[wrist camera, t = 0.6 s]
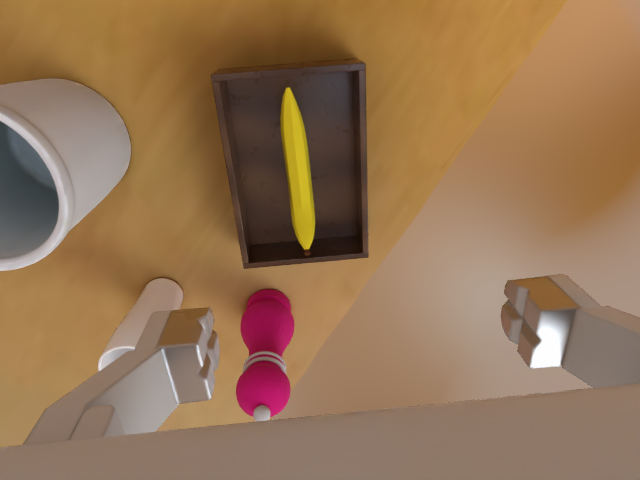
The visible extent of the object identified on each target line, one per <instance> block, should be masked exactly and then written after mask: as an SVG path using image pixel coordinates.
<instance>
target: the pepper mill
mask: <svg viewBox="0 0 640 480" xmlns="http://www.w3.org/2000/svg"><path fill="white" fill-rule="evenodd" d="M293 332H294V319H293V316H292V314H291V306H290V302H289V300H288V298H287V297H286V296H285V295H284V294H283V293H281V292H279V291H277V290H273V289H265V290H261V291H258V292H256V293H254V294H253V295H252V296H251V297H250V298H249V300H248V303H247V308H246V311H245V312H244V314H243V316H242V319H241V334H242V338H243V341H244V343H245V344H246V346H247V348H248V349H249V357H248V358H247V359H246V361H245V363H244V367H243V374H242V375H241V376H240V378H239V380H238V382H237V387H236V396H237V401H238V403H239V405H240V407H241V408H242V410H243V411H244V412H246V413H247V414H248V415H250V416H253V417H254V419H255V421H257V422H258V421H268V420H269V418H270V417H272V416H274V415H276V414H278V413H279V412H280V411H282V410H283V409H284V407H285V406H286V404H287V402H288V400H289V395H290V382H289V380H288V377H287V376H286V364H285V361H284V360H283V358H282V354H283V352H284V350H285V348H286V347H287V346H288V344H289V343H290V341H291V338H292V336H293Z"/></svg>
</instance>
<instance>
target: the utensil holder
mask: <svg viewBox="0 0 640 480" xmlns="http://www.w3.org/2000/svg"><path fill="white" fill-rule="evenodd" d="M130 157H131V143H130V138H129V134H128V131H127V128H126V126H125V124H124V122H123V120H122V118H121V117H120V115H119V114H118V112H117V111H116V110H115V108H114V107H113V106H112V105H111V104H110V103H109V102H108V101H107V100H106V99H105V98H104V97H103V96H101V95H100V94H98V93H97V92H95V91H94V90H92V89H90V88H88V87H86V86H84V85H82V84H80V83H77V82H74V81H71V80H66V79H57V78H47V79H38V80H31V81H22V82H15V83H9V84H3V85H0V271H6V270H14V269H18V268H22V267H26V266H29V265H31V264H33V263H36V262H37V261H39V260H41V259H43V258H44V257H46V256H47V255H48V254H50V253H51V252H52V251H53V250H54V249H55V248H56V247H57V246H58V245H59V244H60V243H61V242H62V240H63V239H64V237H65V236H66V234H67V233H68V232H69V231H70V230H71V229H72V228H73V227H74V226H75V225H76V224H78V223H79V222H80V221H81V220H82V219H83V218H84V217H85V216H86V215H87V214H88V213H89V212H90V211H91V210H93V209H94V208H95V207H96V206H97V205H98V204H99V203H100V202H101V201H102V200H103V199H104V198H105V197H106V196H107V195H108V194H109V193H110V191H111V190H112V189H113V188H114V187H115V186H116V185H117V184H118V183H119V182H120V180H121V179H122V178H123V176H124V175H125V173H126V171H127V168H128V166H129V162H130Z"/></svg>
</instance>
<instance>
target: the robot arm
mask: <svg viewBox="0 0 640 480" xmlns="http://www.w3.org/2000/svg"><path fill="white" fill-rule="evenodd" d="M504 294H505V295H506V297H507V298H508V301H507V302H506V303H505V304H504V305H503V306H502V311H501V321H502V327H503V329H504V332H505V334H506V336H507V337H508V338H509V340H510V341H512V342H515V343H516V344H518V350H517V351H518V353H519V354H520V355H521V357H522V358H523V360H524V361H525V363H526V364H527V365H528V367H529V368H543V367H557V366H562V368H563V369H565V370H567V371H568V372H570V373H571V374H573V375H574V376H576V377H577V378H579V379H581V380H582V381H584V382H585V383H587V384H588V385H590V386H591V387H593V388H587V389H577V390H567V391H557V392H547V393H538V394H527V395H518V396H508V397H497V398H488V399H477V400H468V401H458V402H448V403H438V404H428V405H418V406H408V407H399V408H389V409H378V410H368V411H358V412H348V413H338V414H328V415H318V416H308V417H298V418H288V419H278V420H268V421H258V422H248V423H238V424H228V425H218V426H208V427H198V428H188V429H178V430H168V431H158V432H155V431H156V430H157V429H158V428H159V427H160V426H161V425H162V423H163V422H164V421H165V420H166V419H167V418H168V417H169V415H170V414H171V413H172V412H173V411H174V410H175V409H176V407H177V406H178V404H182V403H190V402H198V401H205V400H211V398H212V393H213V389H214V384H215V377H214V373H213V372H214V371H215V370H216V369H217V368H218V364H219V353H220V348H219V340H218V335H217V333H216V332H215V331H214V330H212V328H213V324H214V317H213V313H212V310H211V309H210V307H209V308H195V309H181V310H167V311H157V312H154V313H152V314H151V316H150V318H149V320H148V322H147V324H146V326H145V328H144V330H143V332H142V334H141V336H140V338H139V340H138V343H137V345H136V347H135V349H134V351H128V352H126V353H125V354H123V355H122V356H120V357H119V358H118V359H116V360H115V361H113V362H112V363H110V364H109V365H108V366H106V367H105V368H103V369H102V370H101V371H99V372H98V373H96V374H95V375H93V376H92V377H91V378H89V379H88V380H86V381H85V382H83V383H82V384H81V385H79V386H78V387H76V388H75V389H74V390H72V391H71V392H69V393H68V394H66V395H65V396H64V397H62V398H61V399H59V400H58V401H56V402H55V403H54V404H52V405H51V406H49V407H48V408H47V409H45V411H44V412H43V414H42V415H41V417H40V418H39V420H38V421H37V423H36V425H35V426H34V428H33V429H32V431H31V432H30V434H29V436H28V437H27V439H26V440H25V442H24V443H23V445H18V446H8V447H0V480H640V318H639V317H636V316H634V315H631V314H628V313H626V312H623V311H620V310H617V309H615V308H612V307H609V306H601V305H600V304H598V303H597V302H596V301H595V300H594V299H593V298H592V297H591V296H589V295H588V294H587V293H586V292H585V291H584V290H583V289H582V288H580V287H579V286H578V285H577V284H576V283H575V282H574V281H572V280H571V279H570V278H569V277H568V276H567V275H564V274H558V275H550V276H544V277H535V278H526V279H517V280H508V282H507V283H506V285H505V290H504Z"/></svg>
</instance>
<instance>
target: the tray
mask: <svg viewBox="0 0 640 480" xmlns="http://www.w3.org/2000/svg"><path fill="white" fill-rule="evenodd" d="M211 78H212V84H213V90H214V96H215V102H216V108H217V113H218V119H219V125H220V131H221V137H222V143H223V149H224V155H225V161H226V167H227V172H228V178H229V184H230V190H231V196H232V202H233V208H234V214H235V220H236V226H237V231H238V237H239V243H240V249H241V255H242V261H243V267H244V269H246V268H257V267H269V266H280V265H291V264H302V263H313V262H324V261H335V260H346V259H357V258H368V197H367V133H366V71H365V63H364V62H363V61H361V60H359V59H344V60H331V61H318V62H305V63H292V64H279V65H266V66H252V67H239V68H226V69H218V70H217V71H216V72H214V73H213V74H211ZM286 87H290V89H291V91H292V93H293V95H294V98H295V100H296V102H297V105H298V108H299V110H300V113H301V116H302V120H303V124H304V128H305V133H306V138H307V146H308V153H309V162H310V170H311V180H312V190H313V200H314V211H315V231H314V237H313V241H312V243H311V246H310V248H309V251H310V252H311V254H310V255H308V256H306V255H304V248H303V247H302V246H301V244H300V243H299V241H298V239H297V236H296V234H295V231H294V227H293V223H292V217H291V208H290V198H289V189H288V181H287V174H286V167H285V160H284V153H283V145H282V137H281V121H280V116H281V105H282V98H283V94H284V92H285V89H286Z"/></svg>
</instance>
